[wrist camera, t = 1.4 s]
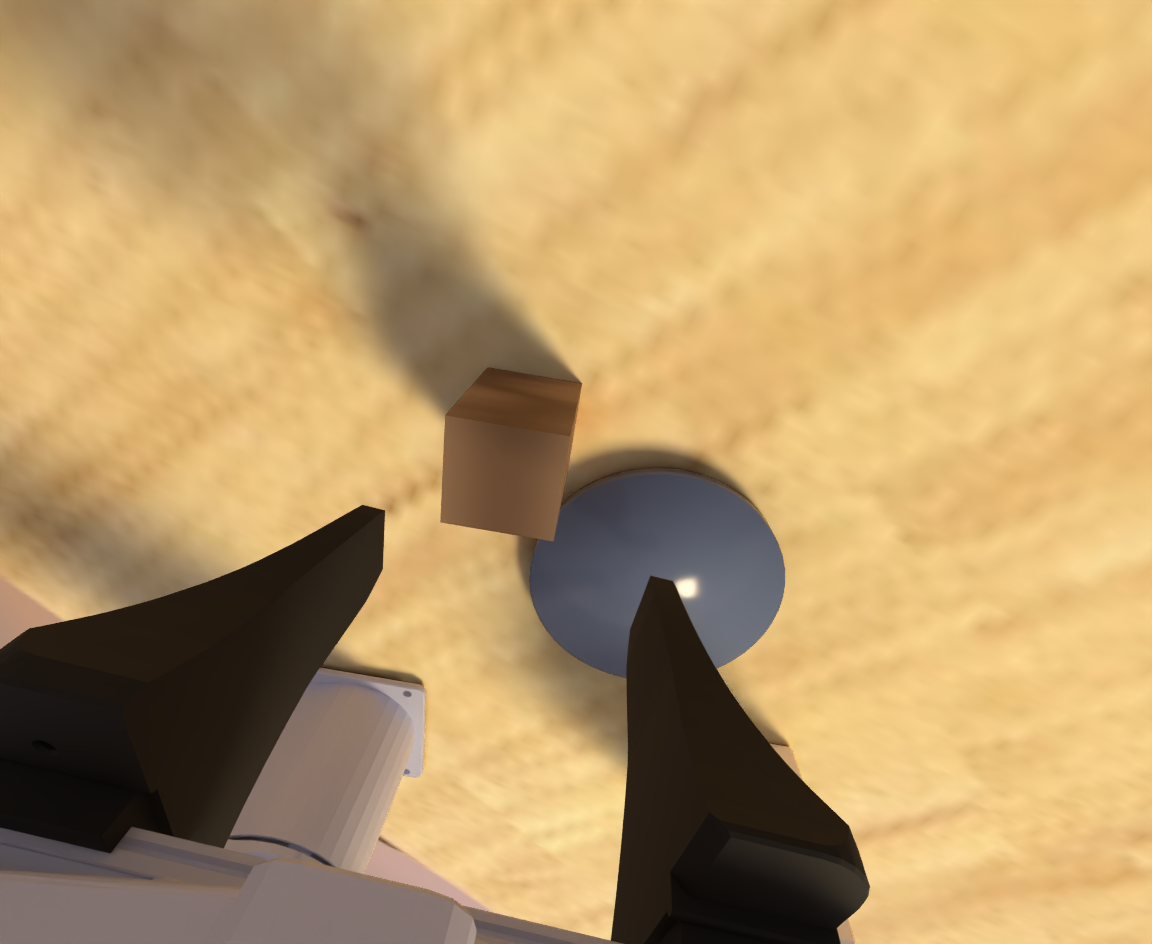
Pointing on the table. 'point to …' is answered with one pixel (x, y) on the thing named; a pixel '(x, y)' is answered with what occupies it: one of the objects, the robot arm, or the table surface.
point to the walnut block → (509, 453)
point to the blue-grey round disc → (656, 564)
